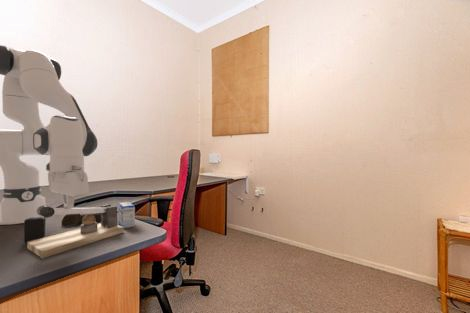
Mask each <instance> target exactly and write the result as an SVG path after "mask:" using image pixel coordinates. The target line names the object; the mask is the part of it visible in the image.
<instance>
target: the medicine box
mask: <svg viewBox="0 0 470 313" xmlns="http://www.w3.org/2000/svg"><path fill="white" fill-rule="evenodd" d="M117 204H118V205H117V224H119V226H122V227H123V229H127V228H132V227H133V228H134V227H135V226H136V225H135V223H136V222H135V220H136V216H135V215H136V207H135V205H134V204H133V203H132V202H130V201H125V202H124V201H123V202H118V203H117Z"/></svg>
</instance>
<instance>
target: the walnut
mask: <svg viewBox="0 0 470 313" xmlns="http://www.w3.org/2000/svg"><path fill="white" fill-rule="evenodd" d="M87 214H88V215H86V216H84V217H83V219H82V223H81V224H84V225H92V224H94V223H95V222H97V221H96V218H95V216H94V215H92V214H93V213H87Z"/></svg>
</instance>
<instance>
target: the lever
mask: <svg viewBox="0 0 470 313" xmlns="http://www.w3.org/2000/svg"><path fill="white" fill-rule="evenodd" d="M93 213H107V207H101V206H100V207H96V206H95V207H94V206H93V207H73V208H71V209H67V208H64V207H50V206H48V205H46V206H45V205H43V206H40V207H39V208H38V209H37V214H39V215H41V216H43V217H45V219H46V218H51V217H53V216H54V215H67V214H80V215H81V214H93Z"/></svg>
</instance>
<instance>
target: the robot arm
mask: <svg viewBox="0 0 470 313" xmlns="http://www.w3.org/2000/svg"><path fill="white" fill-rule="evenodd" d="M0 75H2V76H4V78H3V82H2V89H1V90H2V92H1V93H2V96H1V97H2V99H1V100H2V113H3V115H4V116H5V117H6V118H8V119H10V120H11V121H13V122H16V123H19V124H21V125H22V126H23V129H5V128H3V129H2V128H0V168H1V171H2V174H3V175H2V176H3V180H4V182H3V184H4V188H3V190H2V197H3V198H2V200H1V201H0V225H4V226H5V225H18V224H24V220H26V219H28V218H32V217H33V218H35V217H43V216H41V215H39V214H37V209H38V208H39V207H40V206H43V205H45V206H47V205H46V197H44V196H42V188H41V185H40V171H39V170H40V169H39V168H38V167H37V166H35V165H33V164H30V163H27V162H24V161H22V160H21V159H20V157H23V156H49V162H47V163H46V165H45V170H46V171H47V178H48V180H47V182H48V187H49V190H50V192H51V193H55V194H59V195H61V196H60V197H61V200H62V202H63V208H67V209H71V208H75V201H76V198H81V197H86V196H88V195H89V192H90V189H89V188H90V187H89V179H88V178H89V177H88V174H87V172H86V171H85V157H89V156H91V155H92V154H93V153H94V152H95V151H96V150H97V148H98V139H97V137H96V135H95V133H94V131H93V130H92V128H90V127H89V125H88V122H87V120H86V118H85V116H84V114H83V112H82V110H81V108H80V106H79V104H78V102H77V100H76V99H75V97H74V96H73V95H72V94H71V93H70V92H68V91H67V90H66V89H65V88H64V87H63V85H62V83H61V82H60V79H61V76H62V66H61V65H60V63H59V61H57V60H56V59H54V58H52V57H50V56H47V55H46V54H45V53H43V51H42V52H41V51H39V50H35V49H29V50H23V49H20V48H19V49H18V48H12V47H7V45H0ZM39 104H42V105H45V106H48V107H50V108H52V109H55V110H57V111H59V112H61V113H62V114H63V115H53V116H51V118H50V121H49V123H48V124H47V126H45V125H44V123H43V122H42V120H41V117H40V110H39Z"/></svg>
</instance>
